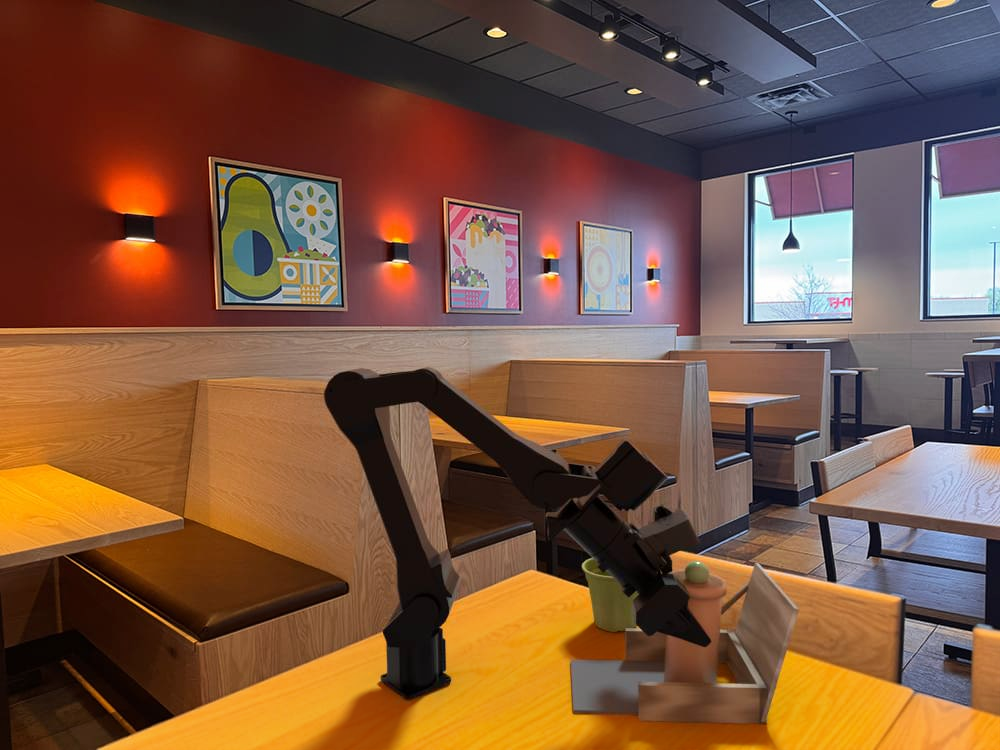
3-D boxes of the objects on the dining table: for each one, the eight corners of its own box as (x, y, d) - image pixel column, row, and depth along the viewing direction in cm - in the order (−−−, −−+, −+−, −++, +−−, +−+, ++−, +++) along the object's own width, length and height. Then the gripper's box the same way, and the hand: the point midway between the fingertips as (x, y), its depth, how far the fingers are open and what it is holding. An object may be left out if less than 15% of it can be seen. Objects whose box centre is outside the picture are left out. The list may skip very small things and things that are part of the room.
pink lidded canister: (697, 708, 79) (706, 575, 78) (648, 683, 84) (656, 558, 83) (730, 690, 83) (739, 564, 82) (682, 667, 88) (690, 548, 87)
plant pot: (630, 644, 95) (629, 581, 95) (570, 627, 101) (570, 568, 100) (659, 621, 103) (659, 562, 102) (602, 606, 108) (602, 551, 108)
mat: (573, 712, 78) (573, 710, 78) (570, 661, 90) (570, 659, 90) (682, 715, 78) (682, 712, 78) (665, 663, 90) (665, 661, 89)
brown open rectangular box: (639, 720, 77) (638, 606, 76) (624, 655, 92) (624, 559, 91) (797, 724, 75) (798, 608, 75) (756, 658, 91) (757, 560, 90)
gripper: (668, 510, 73) (776, 615, 73) (645, 473, 91) (731, 557, 91) (592, 584, 74) (699, 687, 74) (584, 532, 93) (669, 615, 92)
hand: (701, 630), depth 83 cm, fingers open, 7 cm apart
